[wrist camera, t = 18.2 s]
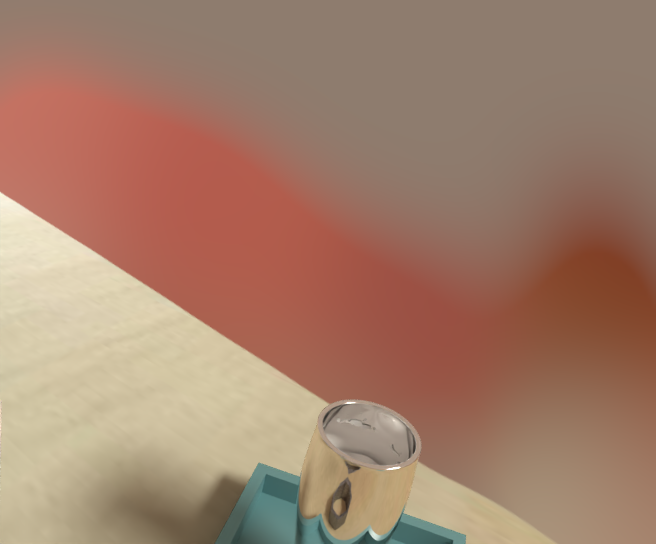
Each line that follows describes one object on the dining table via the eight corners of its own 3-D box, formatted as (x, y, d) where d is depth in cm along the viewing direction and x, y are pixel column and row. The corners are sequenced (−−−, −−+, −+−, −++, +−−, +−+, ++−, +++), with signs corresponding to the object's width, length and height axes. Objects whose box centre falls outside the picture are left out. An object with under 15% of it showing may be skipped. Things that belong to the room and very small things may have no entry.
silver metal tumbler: (320, 546, 46) (366, 386, 41) (386, 614, 42) (447, 446, 37) (250, 590, 42) (290, 415, 36) (316, 672, 37) (374, 488, 32)
